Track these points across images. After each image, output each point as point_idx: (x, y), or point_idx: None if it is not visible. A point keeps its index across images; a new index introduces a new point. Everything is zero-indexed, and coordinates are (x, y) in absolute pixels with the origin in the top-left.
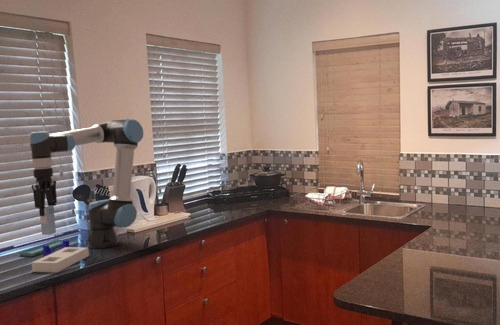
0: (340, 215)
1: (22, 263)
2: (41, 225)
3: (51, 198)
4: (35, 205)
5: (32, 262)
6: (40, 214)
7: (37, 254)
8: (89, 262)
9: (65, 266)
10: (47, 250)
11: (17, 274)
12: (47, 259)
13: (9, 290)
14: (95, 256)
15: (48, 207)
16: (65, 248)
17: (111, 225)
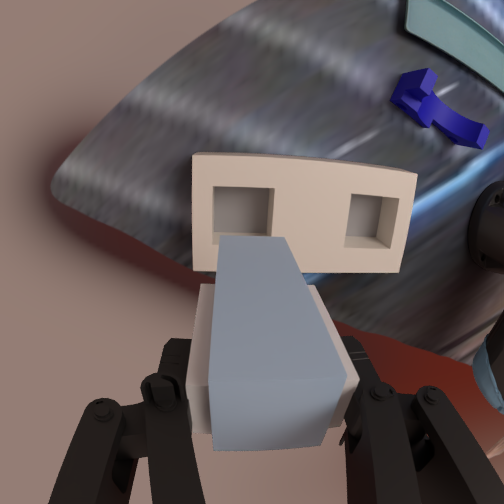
0: None
1: (326, 28)
2: (217, 265)
3: (350, 499)
4: (83, 426)
5: (193, 158)
6: (164, 356)
7: (423, 40)
8: (332, 285)
9: None
10: (412, 91)
11: (190, 92)
12: (258, 186)
13: (53, 194)
14: None
15: (229, 444)
16: (401, 183)
17: (501, 314)
